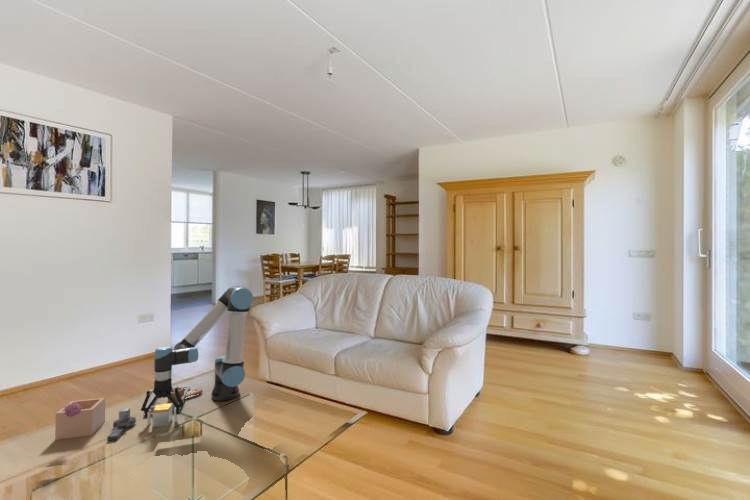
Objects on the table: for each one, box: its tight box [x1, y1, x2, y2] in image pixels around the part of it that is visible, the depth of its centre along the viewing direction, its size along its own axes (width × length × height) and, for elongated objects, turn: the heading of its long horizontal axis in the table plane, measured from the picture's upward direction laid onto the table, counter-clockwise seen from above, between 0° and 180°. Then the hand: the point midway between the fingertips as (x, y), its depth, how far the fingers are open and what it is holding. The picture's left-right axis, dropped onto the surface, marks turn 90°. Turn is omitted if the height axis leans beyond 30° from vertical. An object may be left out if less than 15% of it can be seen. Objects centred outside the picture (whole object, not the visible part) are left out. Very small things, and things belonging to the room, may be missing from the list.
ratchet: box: [106, 407, 136, 442], centre depth 168 cm, size 9×19×8 cm, turn 18°
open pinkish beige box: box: [54, 397, 106, 441], centre depth 169 cm, size 14×14×12 cm
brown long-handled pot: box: [167, 386, 203, 404], centre depth 205 cm, size 18×8×7 cm, turn 136°
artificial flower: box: [63, 402, 83, 417], centre depth 163 cm, size 7×7×25 cm
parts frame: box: [143, 385, 191, 415], centre depth 199 cm, size 17×27×4 cm, turn 18°
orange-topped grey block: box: [152, 402, 173, 428], centre depth 176 cm, size 7×7×8 cm
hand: (162, 422), depth 176 cm, fingers open, 11 cm apart
